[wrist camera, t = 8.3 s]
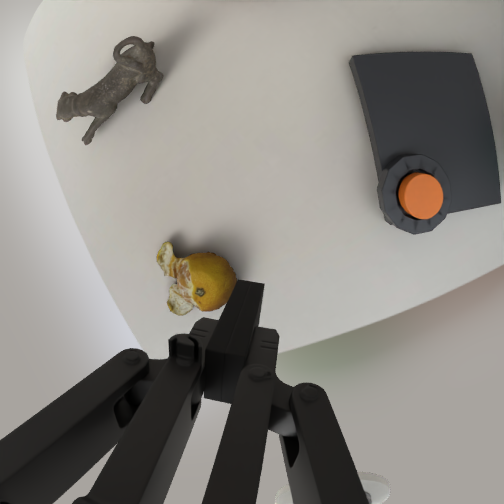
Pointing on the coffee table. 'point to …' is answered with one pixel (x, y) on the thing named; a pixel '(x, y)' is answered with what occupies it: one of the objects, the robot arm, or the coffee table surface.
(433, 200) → the button
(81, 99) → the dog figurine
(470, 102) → the scale
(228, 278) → the fruit
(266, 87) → the coffee table surface
